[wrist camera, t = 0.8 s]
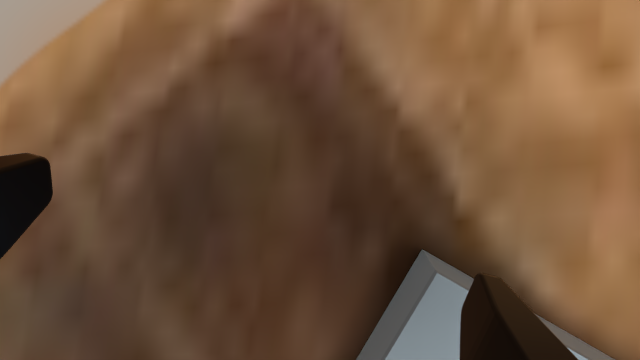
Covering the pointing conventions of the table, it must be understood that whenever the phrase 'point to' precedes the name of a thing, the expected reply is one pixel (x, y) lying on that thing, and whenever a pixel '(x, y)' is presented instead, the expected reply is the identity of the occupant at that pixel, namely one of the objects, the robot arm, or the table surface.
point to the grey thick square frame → (437, 318)
